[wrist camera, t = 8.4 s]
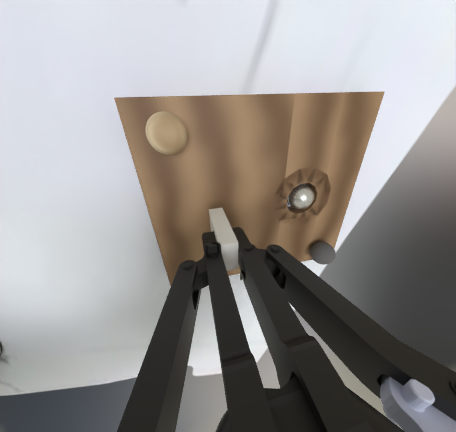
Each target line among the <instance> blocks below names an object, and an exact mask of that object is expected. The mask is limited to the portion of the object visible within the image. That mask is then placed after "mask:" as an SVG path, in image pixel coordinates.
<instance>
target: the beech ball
mask: <svg viewBox="0 0 456 432" xmlns="http://www.w3.org/2000/svg"><path fill="white" fill-rule="evenodd" d="M146 136H147V139H148V141H149V143H150V145H151V146H152V147H153V148H154V149H155V150H156V151H158V152H160V153H162V154H165V155H174V154H177V153H179V152H180V151H181V150H182V149H183V148H184V147H185V145H186V142H187V130H186V127H185V125H184V123H183V122H182V121H181V119H180V118H179V117H177V116H176V115H174V114H173V113H170V112H166V111H161V112H157V113H155V114H153V115H152V116H151V117H150V118H149V119H148V121H147V124H146Z"/></svg>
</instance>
